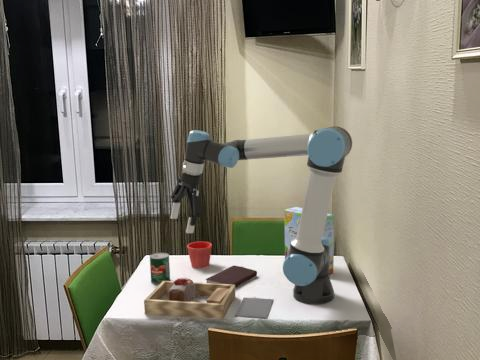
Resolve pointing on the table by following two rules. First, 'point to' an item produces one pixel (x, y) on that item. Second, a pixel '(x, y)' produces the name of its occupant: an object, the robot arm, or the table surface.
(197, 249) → the flower pot
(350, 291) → the table surface
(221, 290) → the offcut stack
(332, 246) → the snack box
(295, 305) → the table surface
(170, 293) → the food item
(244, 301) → the mat
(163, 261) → the canned tomato
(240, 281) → the book
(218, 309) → the tray
